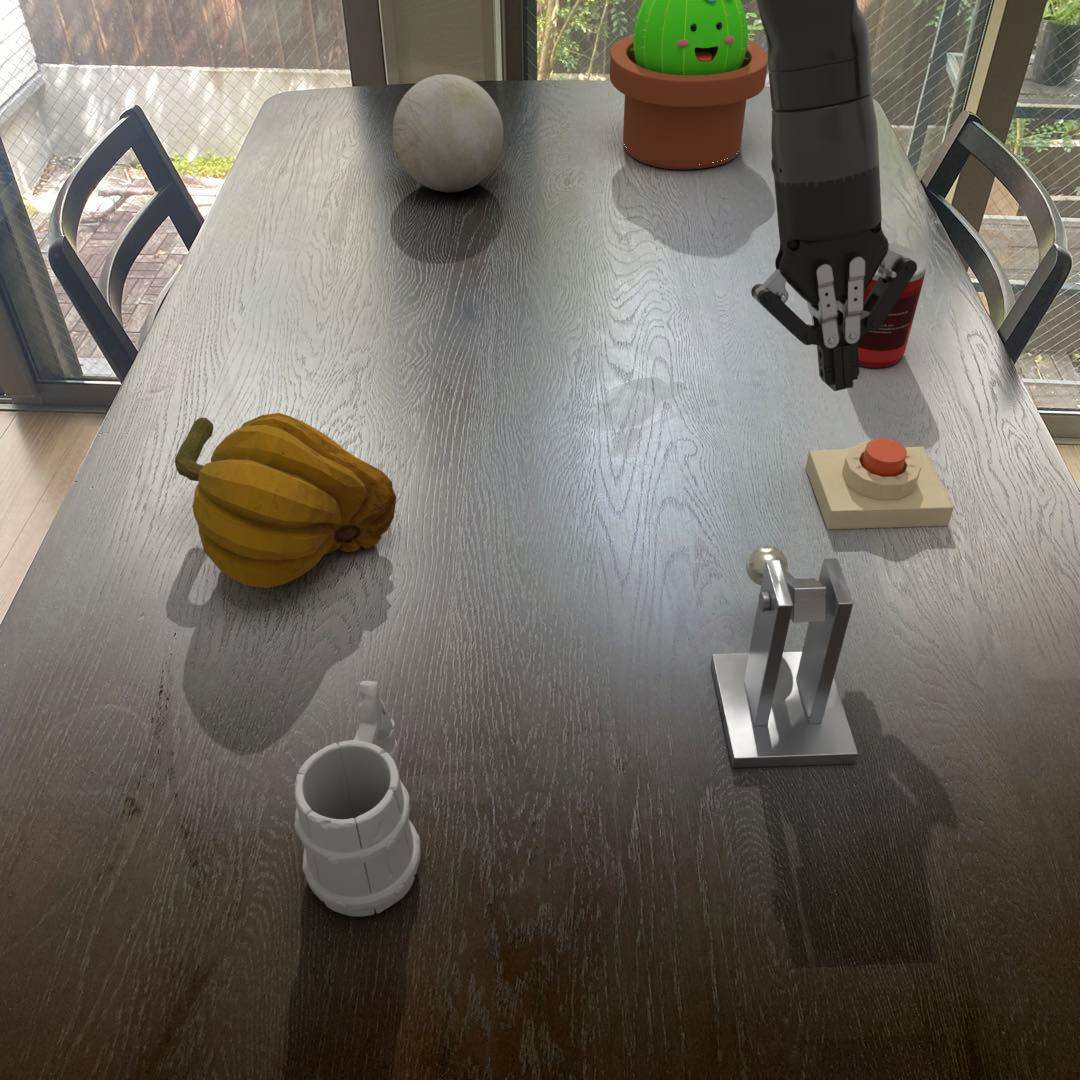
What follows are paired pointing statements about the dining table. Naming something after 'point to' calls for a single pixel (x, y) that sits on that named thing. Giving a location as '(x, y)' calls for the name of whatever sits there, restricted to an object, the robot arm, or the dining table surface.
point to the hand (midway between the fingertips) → (840, 386)
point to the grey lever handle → (791, 586)
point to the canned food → (893, 319)
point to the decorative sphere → (448, 133)
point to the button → (884, 457)
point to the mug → (357, 817)
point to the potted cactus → (687, 82)
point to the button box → (877, 491)
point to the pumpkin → (281, 498)
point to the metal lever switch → (787, 682)
